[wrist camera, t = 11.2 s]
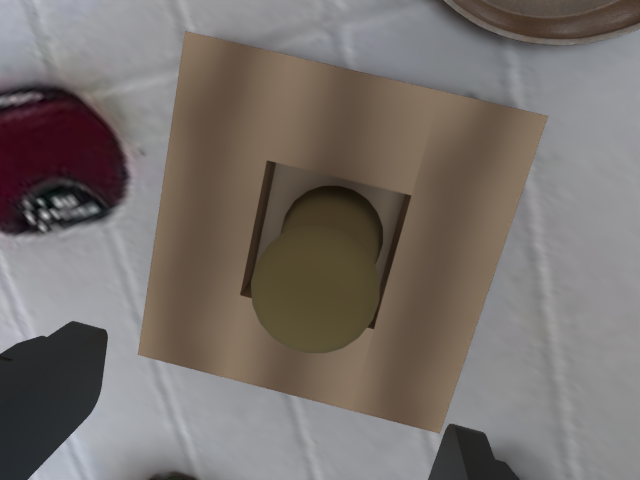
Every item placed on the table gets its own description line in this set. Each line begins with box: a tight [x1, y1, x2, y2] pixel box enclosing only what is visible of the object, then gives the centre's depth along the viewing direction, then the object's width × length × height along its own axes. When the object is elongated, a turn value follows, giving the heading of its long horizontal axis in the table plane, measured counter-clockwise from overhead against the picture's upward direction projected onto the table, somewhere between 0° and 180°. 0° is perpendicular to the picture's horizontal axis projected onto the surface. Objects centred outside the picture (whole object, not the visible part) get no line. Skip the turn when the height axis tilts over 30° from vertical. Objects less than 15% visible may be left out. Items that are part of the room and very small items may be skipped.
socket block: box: [138, 31, 548, 433], centre depth 28 cm, size 18×18×4 cm
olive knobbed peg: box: [251, 186, 383, 353], centre depth 23 cm, size 6×6×11 cm
